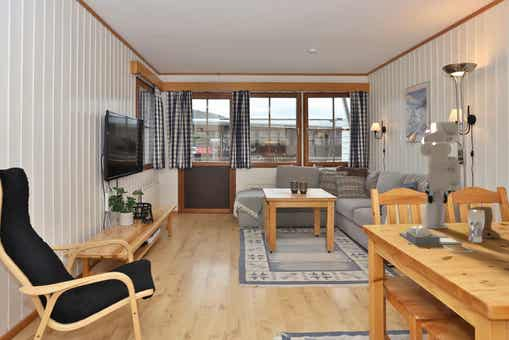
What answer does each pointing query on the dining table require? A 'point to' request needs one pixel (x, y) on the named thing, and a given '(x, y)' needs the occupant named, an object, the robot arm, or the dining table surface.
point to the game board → (431, 239)
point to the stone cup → (487, 223)
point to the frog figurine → (437, 198)
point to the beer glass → (476, 225)
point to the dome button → (422, 231)
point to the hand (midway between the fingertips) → (437, 203)
